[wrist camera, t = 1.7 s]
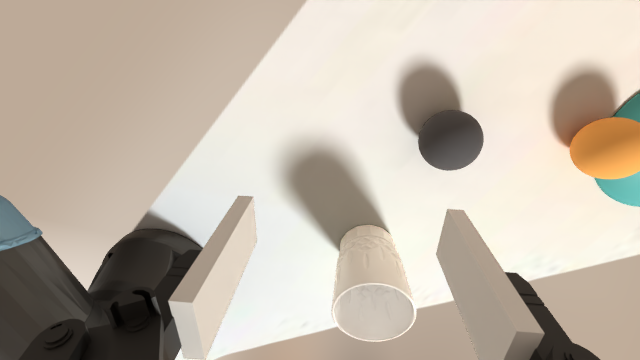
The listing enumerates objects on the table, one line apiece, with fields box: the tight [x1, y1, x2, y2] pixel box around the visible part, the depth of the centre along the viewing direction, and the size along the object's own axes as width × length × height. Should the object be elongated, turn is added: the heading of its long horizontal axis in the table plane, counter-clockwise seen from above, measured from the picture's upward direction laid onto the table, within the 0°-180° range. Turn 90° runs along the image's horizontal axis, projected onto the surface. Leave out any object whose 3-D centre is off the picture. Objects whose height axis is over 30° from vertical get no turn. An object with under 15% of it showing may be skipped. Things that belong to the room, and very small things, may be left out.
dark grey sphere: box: [418, 110, 483, 170], centre depth 28 cm, size 6×6×6 cm
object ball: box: [570, 117, 640, 179], centre depth 27 cm, size 6×6×6 cm
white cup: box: [332, 225, 416, 341], centre depth 33 cm, size 8×8×10 cm
